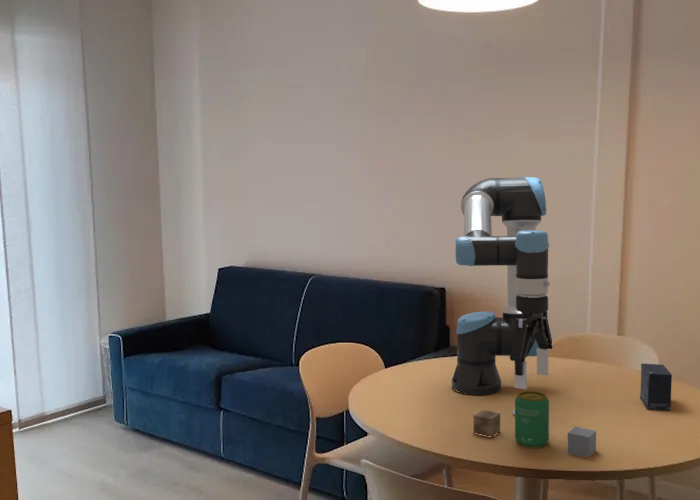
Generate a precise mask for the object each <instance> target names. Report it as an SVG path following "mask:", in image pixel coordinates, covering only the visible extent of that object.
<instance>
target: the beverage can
mask: <svg viewBox="0 0 700 500" xmlns="http://www.w3.org/2000/svg"><path fill="white" fill-rule="evenodd" d="M549 407H550V401H549V399H548V397H547V395H546V394H545V393H544V392H542V391H541V392H540V391H535V390H523V391H520V392H518V393H517V396H515V399H514V410H515V415H514V438H515V440H516V442H517V444H518V445H519V444H520V445H519V446H521V447H523V446H524V448H528V449H529V448H530V449H540V448H543V447H547V443H548V442H549V438H550V436H549V435H550V433H549V430H550V423H549V422H550V421H549V420H550V417H549V415H550V414H549V413H550V409H549Z"/></svg>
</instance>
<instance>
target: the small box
mask: <svg viewBox="0 0 700 500" xmlns="http://www.w3.org/2000/svg"><path fill="white" fill-rule="evenodd" d="M672 380H673V374H672V373H671V372H670V371H669V370H668V368H666V366H665V365H664V364H654V363H640V390H639V391H640V393H639V399H640V401H641V402H642V404H643V406H644V407H645V409H646V410H648V411H649V410H653V411H654V410H655V411H668V412H669V411H671V407H672V406H671V403H672V382H673V381H672Z"/></svg>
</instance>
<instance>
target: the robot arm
mask: <svg viewBox="0 0 700 500" xmlns="http://www.w3.org/2000/svg"><path fill="white" fill-rule="evenodd" d="M460 202H461V203H460V210H461V213H462V215H463V216H464V217H463V236H458V237H457V238H456V239H455V261H456V262H455V263H456V264H457V265H459V266H469V267H475V266H478V267H479V266H481V267H483V266H484V267H485V266H507V267H506V269H507V273H506V274H507V278H506V279H507V305H506V307H505V308H504V309H503V311H502V317H499V316H498V317H497V315H496V314H495V312H493V311H475V312H470V313H467V314H464V315H461V316H459V317H458V319H457V321H456V322H457V323H456V337H457V338H456V340H457V341H456V343H457V344H456V347H457V348H456V351H457V352H456V355H457V356H456V360H457V361H456V363H457V364H456V366H455V369H454V372H453V376H452V379H451V388H453V389H455V390H457V391H459V392H462V393H461V394H463V393H466V394H465V395H468V394H474V395H473V396H487V395H486V394H489V395H493V393H494V394H497V393H499V392H501V390H502V379H501V376H500V374H499V371H498V367H497V365H496V362H497V361H496V356H498V357H499V356H501V357H502V356H503V357H509V360H510V361H512V362H514V388H515V389H521V390H527V387H528V379H527V378H528V377H527V376H528V374H527V372H528V371H527V369H528V367H527V365H528V363H527V360H526V358H528V357H536V375H539V376H547V377H548V376H549V350H552V349H553V339H552V334H551V333H552V332H551V329H550V325H549V320H548V310H549V297H548V295H547V294H549V286H550V285H551V284H550V282H549V247H550V244H549V235H548V232H547V231H545V230H541V229H539V230H538V229H537V227H538V226H539V224H540V223H541V222H542V217H545V216H546V215H547V201H546V194H545V190H544V184H543V182H542V180H541V178H539V177H533V176H531V177H529V176H520V177H517V176H515V177H497V178H495V177H491V178H485V179H483V180H480V181H478V182H476V183H474V184H473V185H471V186H470V187H469V188H468V189H467V190H466V191H465V193H464V194H463V196H462V198H461V201H460ZM492 217H501V223H502V224H503V225H504V226H505V228H506V235H497V236H496V235H493V230H492ZM453 389H452V390H453ZM455 390H454V391H455ZM459 392H458V393H459Z"/></svg>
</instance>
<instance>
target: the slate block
mask: <svg viewBox="0 0 700 500" xmlns="http://www.w3.org/2000/svg"><path fill="white" fill-rule="evenodd" d="M596 451H597V430H595V429H589V428H585V427H579V426H574V427H573V428H571V429H570V430H569V431H568V432H567V454H570V455H575V456H580V457H583V458H590V457H591V456H592V455H593V454H594V453H595V452H596Z"/></svg>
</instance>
